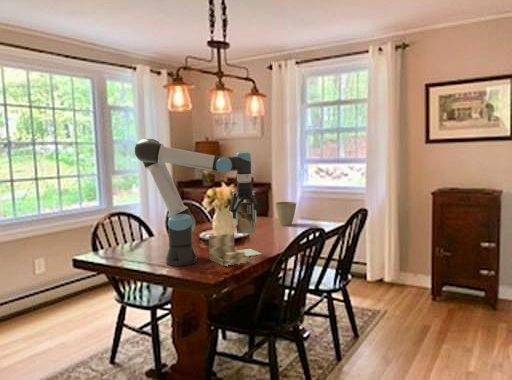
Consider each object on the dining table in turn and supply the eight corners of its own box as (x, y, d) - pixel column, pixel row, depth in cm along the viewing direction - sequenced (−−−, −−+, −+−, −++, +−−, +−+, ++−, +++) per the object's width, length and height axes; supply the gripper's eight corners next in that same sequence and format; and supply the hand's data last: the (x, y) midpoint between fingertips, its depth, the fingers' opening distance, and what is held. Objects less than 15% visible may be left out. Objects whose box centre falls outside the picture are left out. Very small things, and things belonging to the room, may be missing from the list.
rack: (223, 267, 211) (222, 242, 209) (209, 259, 225) (208, 236, 224) (249, 262, 217) (248, 238, 216) (233, 255, 232) (233, 232, 231)
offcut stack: (225, 266, 212) (225, 255, 212) (222, 264, 215) (222, 253, 215) (245, 262, 218) (245, 251, 217) (242, 261, 221) (241, 250, 220)
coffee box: (255, 231, 236) (254, 201, 235) (253, 233, 230) (252, 203, 228) (238, 231, 237) (237, 201, 236) (236, 233, 231) (235, 203, 230)
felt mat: (241, 257, 227) (241, 256, 227) (230, 252, 238) (230, 251, 238) (261, 254, 232) (261, 253, 232) (249, 249, 244) (249, 248, 244)
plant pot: (300, 224, 317) (299, 202, 315) (290, 227, 304) (290, 204, 303) (281, 222, 325) (281, 201, 323) (271, 225, 312) (271, 203, 310)
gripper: (227, 183, 222) (229, 227, 225) (266, 181, 233) (267, 222, 236) (221, 182, 229) (222, 224, 231) (259, 180, 240) (260, 220, 242)
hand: (245, 223), depth 233 cm, fingers closed on coffee box, 10 cm apart
